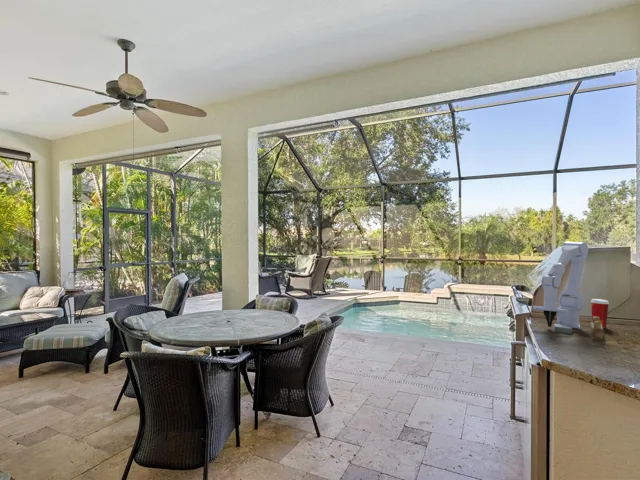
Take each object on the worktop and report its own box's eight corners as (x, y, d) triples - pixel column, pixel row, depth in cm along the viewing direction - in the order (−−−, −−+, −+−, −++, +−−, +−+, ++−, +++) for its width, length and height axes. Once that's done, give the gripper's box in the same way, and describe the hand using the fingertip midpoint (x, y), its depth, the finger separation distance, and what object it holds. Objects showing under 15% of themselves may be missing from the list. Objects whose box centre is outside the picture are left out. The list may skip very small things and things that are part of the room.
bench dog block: (591, 338, 160) (592, 321, 160) (590, 332, 172) (590, 315, 172) (602, 340, 158) (603, 323, 158) (600, 333, 170) (601, 317, 169)
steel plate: (554, 332, 171) (554, 326, 171) (554, 329, 177) (554, 323, 177) (572, 334, 168) (572, 328, 168) (570, 331, 174) (571, 325, 174)
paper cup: (601, 325, 186) (602, 298, 186) (612, 329, 178) (613, 301, 178) (586, 324, 187) (586, 298, 186) (595, 328, 179) (596, 301, 179)
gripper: (532, 298, 177) (532, 325, 177) (567, 302, 168) (567, 330, 168) (534, 296, 182) (533, 322, 183) (568, 300, 174) (567, 327, 174)
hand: (549, 326), depth 176 cm, fingers closed
